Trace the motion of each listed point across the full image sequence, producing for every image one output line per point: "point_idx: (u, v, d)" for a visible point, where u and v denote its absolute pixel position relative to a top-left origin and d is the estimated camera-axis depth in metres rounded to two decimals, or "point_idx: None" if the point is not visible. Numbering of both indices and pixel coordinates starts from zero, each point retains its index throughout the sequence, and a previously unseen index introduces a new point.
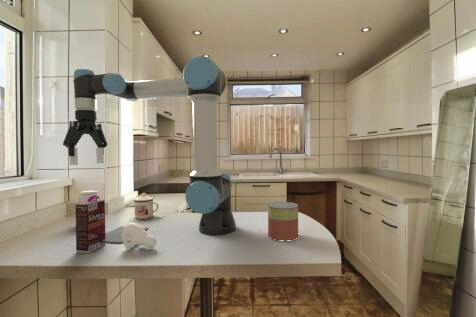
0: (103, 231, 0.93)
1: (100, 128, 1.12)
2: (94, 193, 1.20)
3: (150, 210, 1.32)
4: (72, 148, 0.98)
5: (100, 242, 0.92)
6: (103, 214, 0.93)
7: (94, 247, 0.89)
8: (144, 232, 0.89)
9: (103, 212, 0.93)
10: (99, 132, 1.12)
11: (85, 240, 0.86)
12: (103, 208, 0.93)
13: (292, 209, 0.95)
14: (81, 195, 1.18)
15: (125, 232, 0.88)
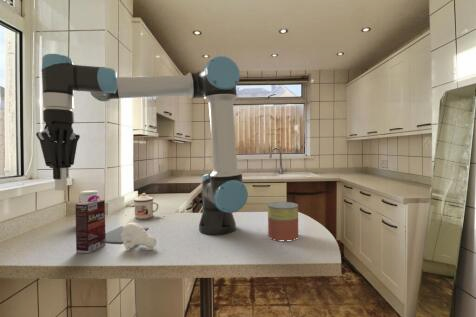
0: (103, 231, 0.93)
1: (76, 139, 0.83)
2: (94, 193, 1.20)
3: (150, 210, 1.32)
4: (58, 169, 0.77)
5: (100, 242, 0.92)
6: (103, 214, 0.93)
7: (94, 247, 0.89)
8: (144, 232, 0.89)
9: (103, 212, 0.93)
10: (72, 143, 0.83)
11: (85, 240, 0.86)
12: (103, 208, 0.93)
13: (292, 209, 0.95)
14: (81, 195, 1.18)
15: (125, 232, 0.88)
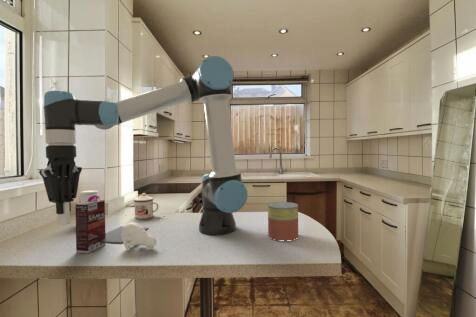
0: (103, 231, 0.93)
1: (78, 172, 0.84)
2: (94, 193, 1.20)
3: (150, 210, 1.32)
4: (61, 204, 0.78)
5: (100, 242, 0.92)
6: (103, 214, 0.93)
7: (94, 247, 0.89)
8: (144, 232, 0.89)
9: (103, 212, 0.93)
10: (74, 176, 0.83)
11: (85, 240, 0.86)
12: (103, 208, 0.93)
13: (292, 209, 0.95)
14: (81, 195, 1.18)
15: (125, 232, 0.88)
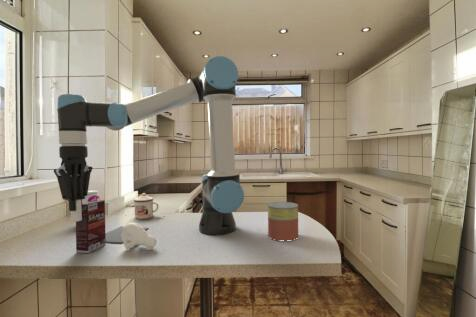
0: (103, 231, 0.93)
1: (89, 171, 0.88)
2: (94, 193, 1.20)
3: (150, 210, 1.32)
4: (73, 202, 0.82)
5: (100, 242, 0.92)
6: (103, 214, 0.93)
7: (94, 247, 0.89)
8: (144, 232, 0.89)
9: (103, 212, 0.93)
10: (85, 175, 0.87)
11: (85, 240, 0.86)
12: (103, 208, 0.93)
13: (292, 209, 0.95)
14: None
15: (125, 232, 0.88)
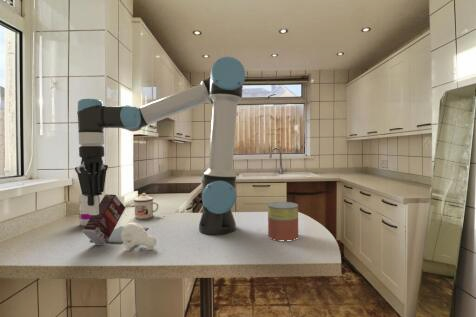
0: (111, 230, 0.97)
1: (105, 169, 0.96)
2: None
3: (150, 210, 1.32)
4: (92, 197, 0.90)
5: (104, 236, 0.94)
6: (119, 216, 1.01)
7: (99, 234, 0.91)
8: (144, 232, 0.89)
9: (119, 215, 1.02)
10: (102, 173, 0.95)
11: (97, 220, 0.92)
12: (121, 212, 1.03)
13: (292, 209, 0.95)
14: (81, 195, 1.18)
15: (125, 232, 0.88)
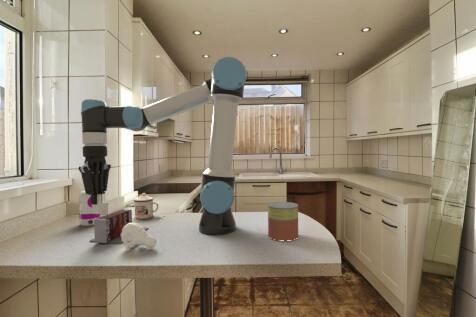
0: (115, 235, 0.99)
1: (108, 169, 0.97)
2: None
3: (150, 210, 1.32)
4: (95, 196, 0.92)
5: (108, 234, 0.96)
6: None
7: (107, 227, 0.95)
8: (144, 232, 0.89)
9: None
10: (105, 172, 0.97)
11: (111, 216, 0.98)
12: None
13: (292, 209, 0.95)
14: (81, 195, 1.18)
15: (125, 232, 0.88)
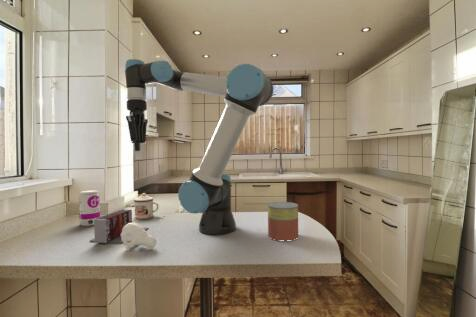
0: (115, 235, 0.99)
1: (146, 122, 1.12)
2: (94, 193, 1.20)
3: (150, 210, 1.32)
4: (138, 143, 1.06)
5: (108, 234, 0.96)
6: None
7: (107, 227, 0.95)
8: (144, 232, 0.89)
9: None
10: (143, 125, 1.11)
11: (111, 216, 0.98)
12: None
13: (292, 209, 0.95)
14: (81, 195, 1.18)
15: (125, 232, 0.88)
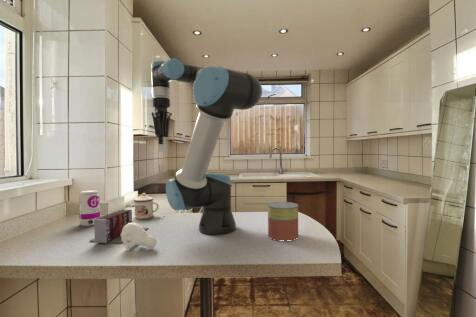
0: (115, 235, 0.99)
1: (169, 118, 1.23)
2: (94, 193, 1.20)
3: (150, 210, 1.32)
4: (161, 137, 1.17)
5: (108, 234, 0.96)
6: None
7: (107, 227, 0.95)
8: (144, 232, 0.89)
9: None
10: (166, 121, 1.22)
11: (111, 216, 0.98)
12: None
13: (292, 209, 0.95)
14: (81, 195, 1.18)
15: (125, 232, 0.88)
